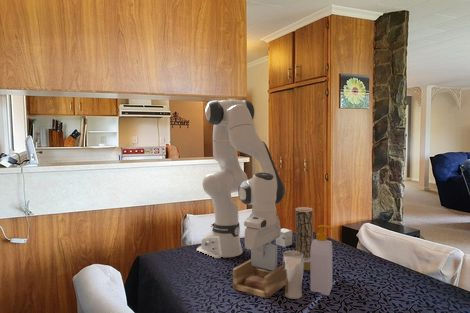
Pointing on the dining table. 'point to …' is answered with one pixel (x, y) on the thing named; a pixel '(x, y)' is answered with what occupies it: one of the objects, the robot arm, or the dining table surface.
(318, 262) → the soap bottle
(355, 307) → the dining table surface
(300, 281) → the beer glass
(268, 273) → the tray
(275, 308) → the dining table surface
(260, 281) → the offcut
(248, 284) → the offcut
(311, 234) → the brown bark cylinder
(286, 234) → the skincare box
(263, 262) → the grey block
